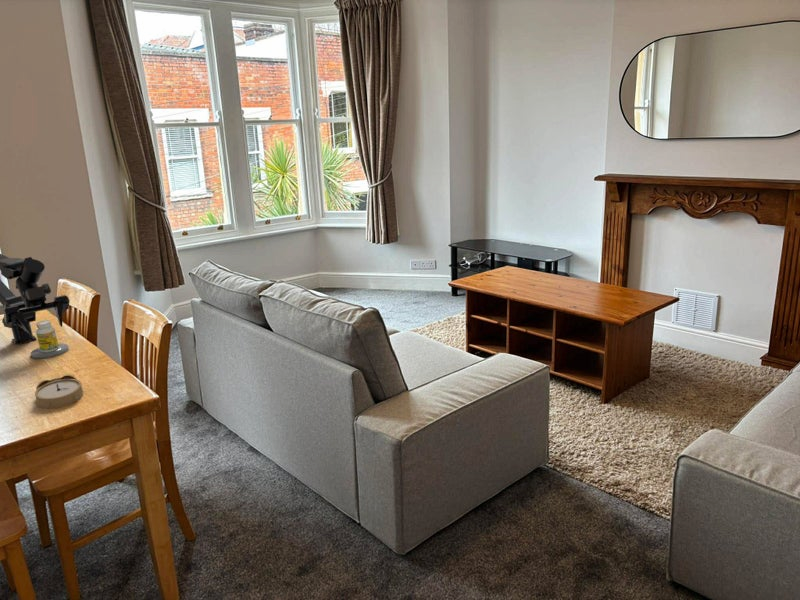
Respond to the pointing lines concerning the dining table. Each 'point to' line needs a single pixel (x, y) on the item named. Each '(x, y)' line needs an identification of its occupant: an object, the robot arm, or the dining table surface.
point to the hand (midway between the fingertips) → (46, 329)
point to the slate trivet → (42, 355)
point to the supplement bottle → (46, 337)
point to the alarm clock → (58, 392)
